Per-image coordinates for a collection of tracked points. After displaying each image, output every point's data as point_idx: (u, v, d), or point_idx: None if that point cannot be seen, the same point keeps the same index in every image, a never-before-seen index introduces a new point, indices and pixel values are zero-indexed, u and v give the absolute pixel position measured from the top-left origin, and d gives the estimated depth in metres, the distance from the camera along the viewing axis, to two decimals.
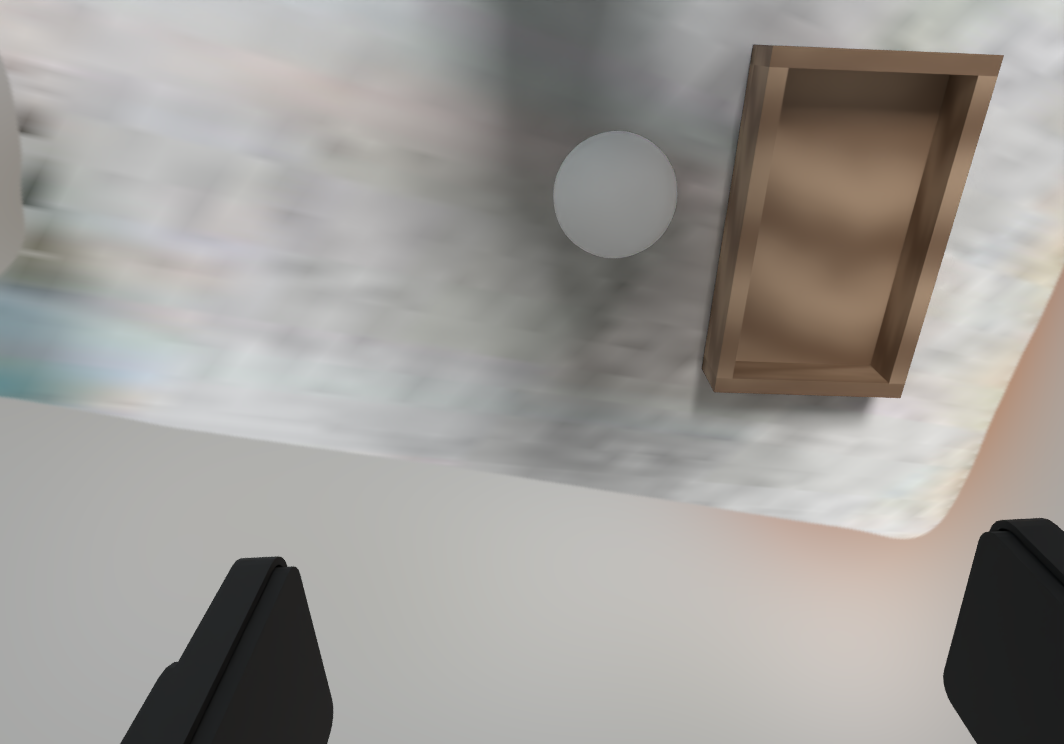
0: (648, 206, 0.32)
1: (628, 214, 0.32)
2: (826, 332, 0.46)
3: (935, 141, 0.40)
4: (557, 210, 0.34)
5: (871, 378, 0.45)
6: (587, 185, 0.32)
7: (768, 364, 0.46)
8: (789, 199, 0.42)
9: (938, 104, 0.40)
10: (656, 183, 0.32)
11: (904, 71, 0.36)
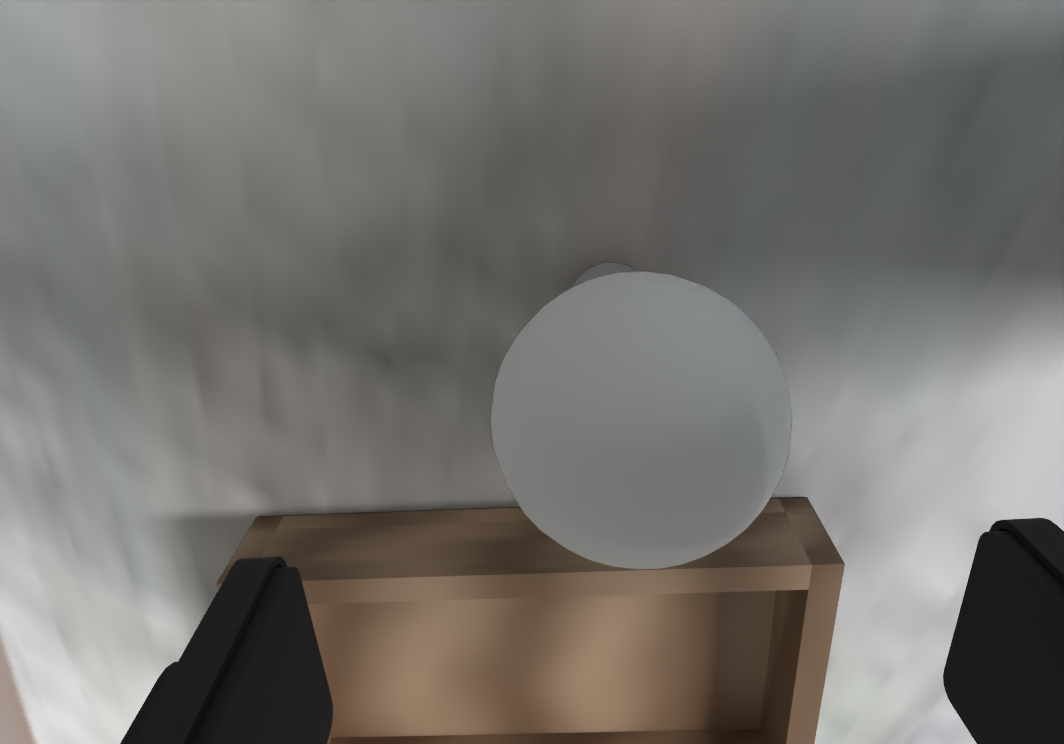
0: (661, 552, 0.13)
1: (644, 519, 0.12)
2: (371, 678, 0.28)
3: (673, 738, 0.29)
4: (608, 305, 0.13)
5: None
6: (708, 401, 0.12)
7: None
8: None
9: (719, 726, 0.29)
10: (710, 549, 0.13)
11: (791, 720, 0.25)
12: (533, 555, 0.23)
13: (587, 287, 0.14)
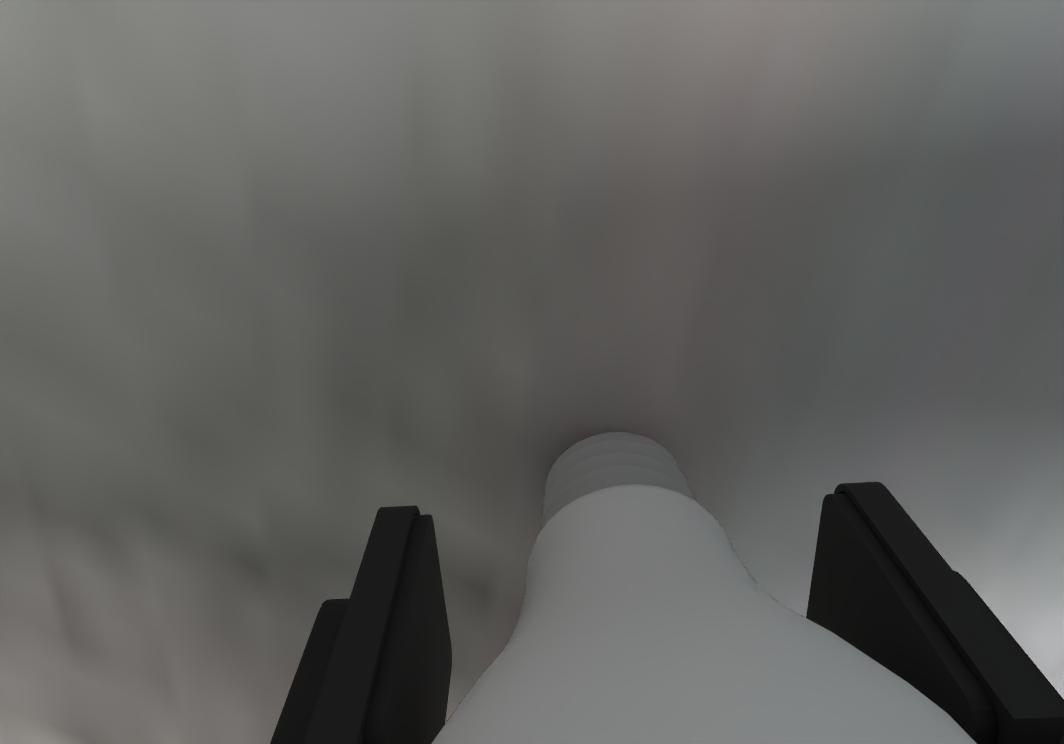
0: None
1: None
2: None
3: None
4: None
5: None
6: None
7: None
8: None
9: None
10: None
11: None
12: None
13: (587, 735, 0.05)
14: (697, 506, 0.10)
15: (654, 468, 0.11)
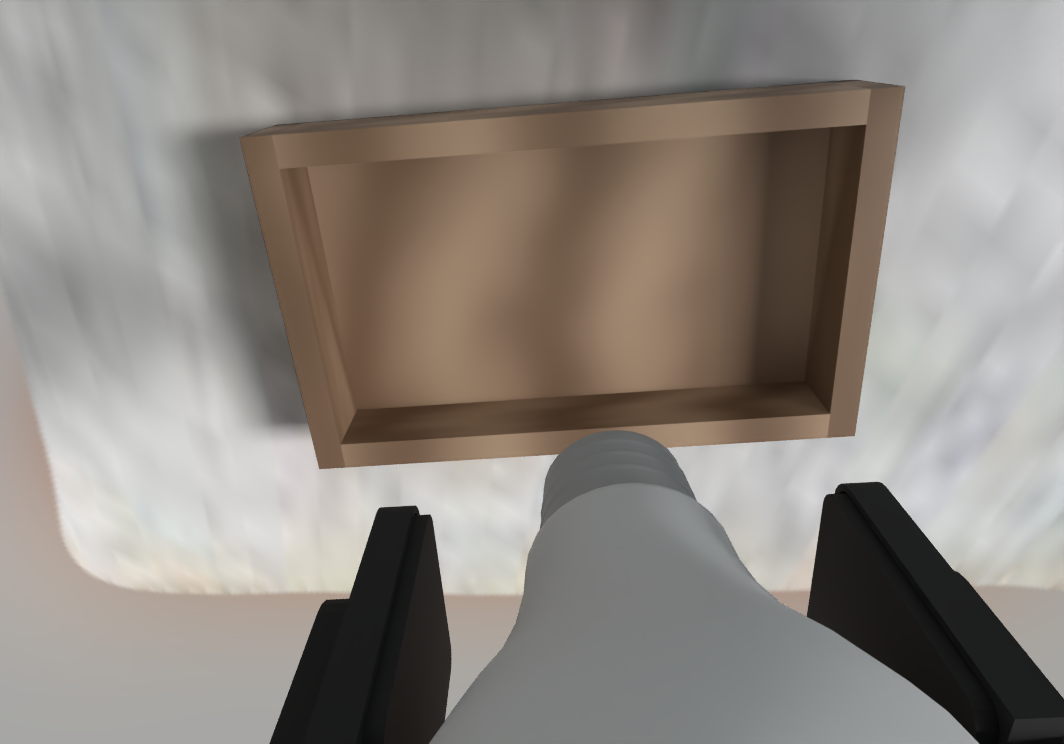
0: None
1: None
2: (398, 327, 0.27)
3: (715, 391, 0.28)
4: None
5: (340, 416, 0.26)
6: None
7: (319, 244, 0.25)
8: (617, 203, 0.25)
9: (762, 379, 0.28)
10: None
11: (844, 312, 0.24)
12: (574, 109, 0.22)
13: (586, 733, 0.05)
14: (696, 504, 0.10)
15: (654, 466, 0.11)
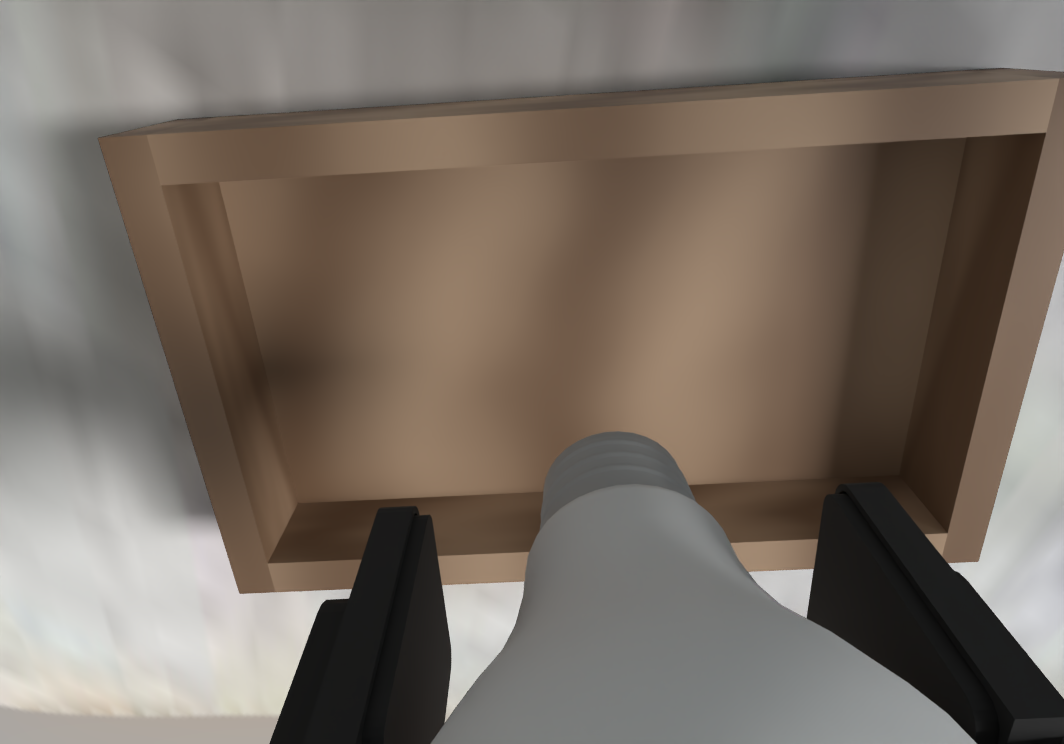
0: None
1: None
2: (352, 398, 0.20)
3: (780, 488, 0.21)
4: None
5: (268, 522, 0.19)
6: None
7: (238, 288, 0.18)
8: (657, 237, 0.18)
9: (843, 472, 0.21)
10: None
11: (982, 400, 0.17)
12: (604, 102, 0.15)
13: (586, 736, 0.05)
14: (696, 506, 0.10)
15: (653, 468, 0.11)
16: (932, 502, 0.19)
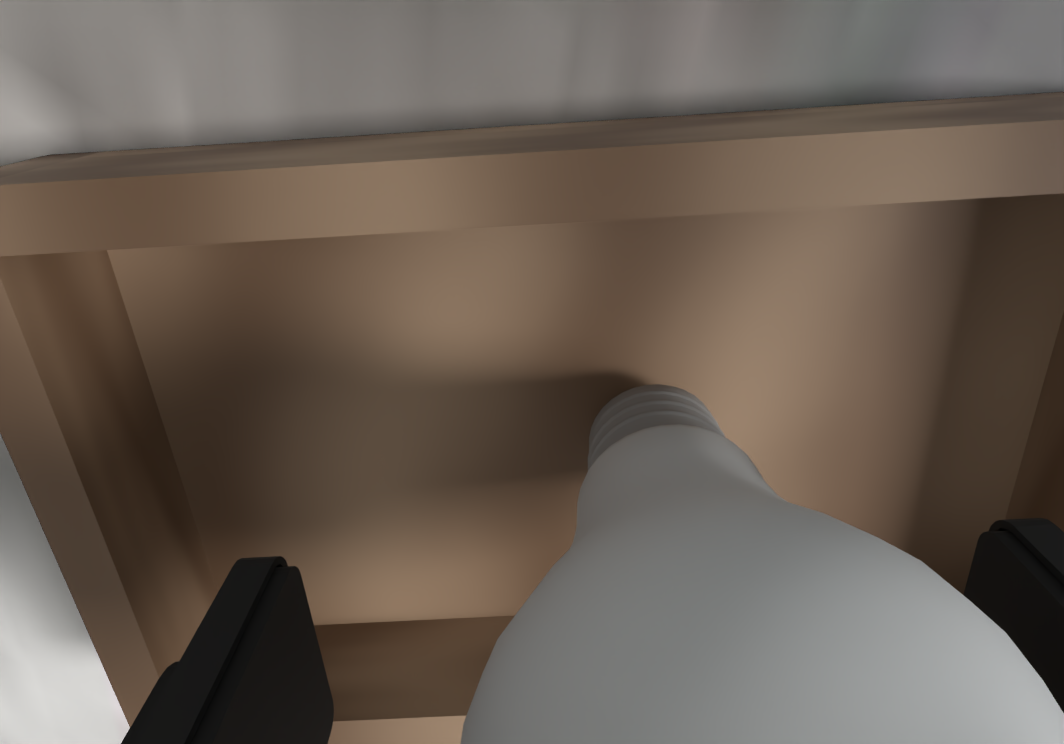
0: None
1: None
2: (293, 506, 0.15)
3: None
4: (722, 669, 0.05)
5: None
6: None
7: (134, 375, 0.14)
8: (687, 307, 0.13)
9: None
10: None
11: None
12: (622, 138, 0.10)
13: (660, 578, 0.06)
14: (733, 444, 0.11)
15: (692, 414, 0.12)
16: None
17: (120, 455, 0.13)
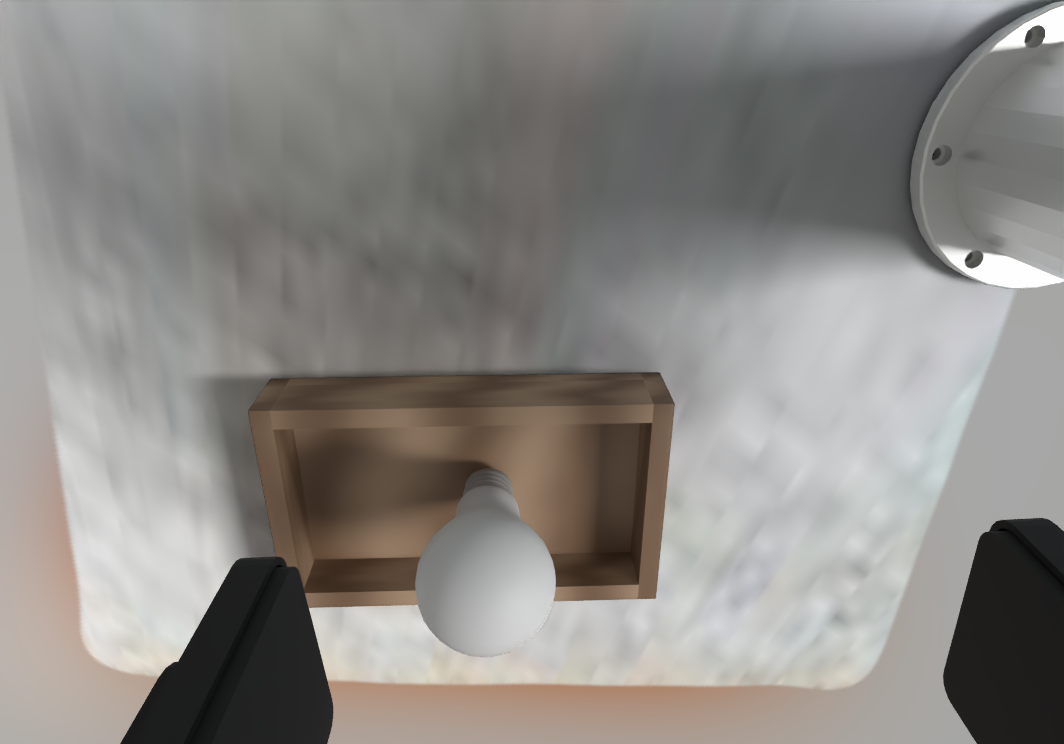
0: (488, 652, 0.29)
1: (479, 640, 0.28)
2: (348, 508, 0.38)
3: (568, 558, 0.40)
4: (468, 542, 0.29)
5: (303, 572, 0.38)
6: (506, 591, 0.28)
7: (295, 458, 0.36)
8: (501, 440, 0.37)
9: (602, 550, 0.40)
10: (512, 649, 0.29)
11: (644, 525, 0.36)
12: (470, 399, 0.34)
13: (461, 526, 0.30)
14: (506, 492, 0.35)
15: (497, 480, 0.36)
16: (636, 568, 0.39)
17: (292, 488, 0.36)
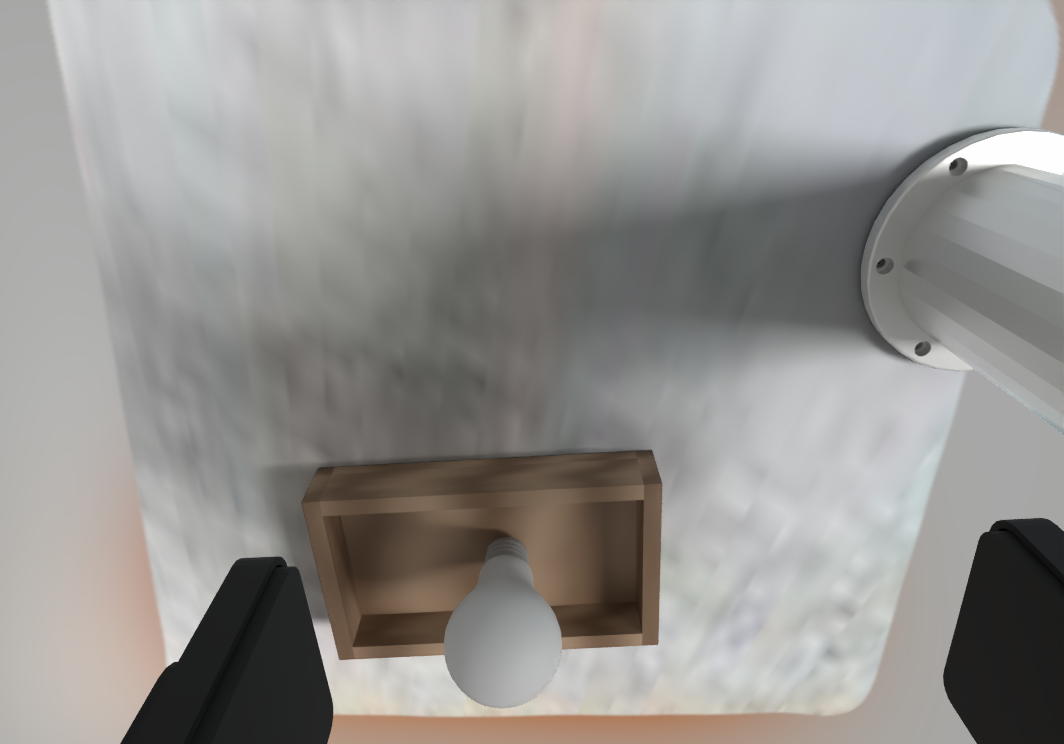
0: (505, 705, 0.34)
1: (497, 695, 0.34)
2: (388, 572, 0.44)
3: (581, 608, 0.45)
4: (485, 613, 0.34)
5: (352, 629, 0.44)
6: (517, 655, 0.34)
7: (341, 533, 0.43)
8: (516, 512, 0.43)
9: (610, 600, 0.46)
10: (526, 701, 0.35)
11: (643, 584, 0.42)
12: (486, 484, 0.39)
13: (480, 599, 0.35)
14: (520, 560, 0.40)
15: (514, 549, 0.41)
16: (640, 618, 0.44)
17: (340, 560, 0.42)
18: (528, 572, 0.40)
